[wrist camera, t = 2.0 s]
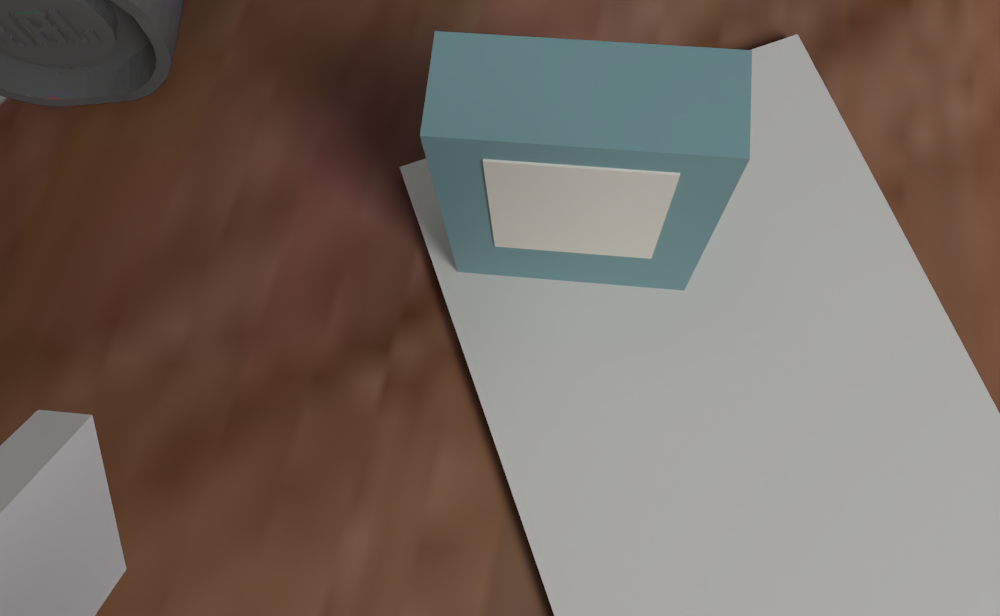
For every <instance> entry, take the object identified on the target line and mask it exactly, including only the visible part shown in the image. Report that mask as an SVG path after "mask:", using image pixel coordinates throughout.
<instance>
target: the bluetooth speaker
mask: <svg viewBox="0 0 1000 616" xmlns="http://www.w3.org/2000/svg"><path fill="white" fill-rule="evenodd" d="M182 7H183V0H0V95H1V96H4V97H7V98H11V99H15V100H19V101H23V102H28V103H32V104H38V105H46V106H75V105H87V104H102V103H113V102H122V101H132V100H137V99H141V98H143V97H145V96H147V95H149V94H151V93H153V92H154V91H155V90H156V89H158V88H159V87H160V86H161V85H162V84H163V82H164V81H165V80H166V78H167V76H168V74H169V71H170V67H171V63H172V58H173V54H174V50H175V46H176V40H177V36H178V31H179V25H180V19H181V13H182Z"/></svg>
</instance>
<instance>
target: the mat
mask: <svg viewBox="0 0 1000 616" xmlns="http://www.w3.org/2000/svg"><path fill="white" fill-rule="evenodd" d="M399 168H400V170H401V173H402V176H403V179H404V182H405V185H406V188H407V191H408V194H409V197H410V199H411V202H412V205H413V208H414V211H415V214H416V217H417V220H418V223H419V226H420V228H421V231H422V234H423V237H424V240H425V243H426V246H427V249H428V252H429V254H430V257H431V260H432V263H433V266H434V269H435V272H436V275H437V278H438V281H439V283H440V286H441V289H442V292H443V295H444V298H445V301H446V304H447V307H448V309H449V312H450V315H451V318H452V321H453V324H454V327H455V330H456V333H457V336H458V338H459V341H460V344H461V347H462V350H463V353H464V356H465V359H466V362H467V364H468V367H469V370H470V373H471V376H472V379H473V382H474V385H475V388H476V391H477V393H478V396H479V399H480V402H481V405H482V408H483V411H484V414H485V417H486V420H487V422H488V425H489V428H490V431H491V434H492V437H493V440H494V443H495V446H496V448H497V451H498V454H499V457H500V460H501V463H502V466H503V469H504V472H505V475H506V477H507V480H508V483H509V486H510V489H511V492H512V495H513V498H514V501H515V503H516V506H517V509H518V512H519V515H520V518H521V521H522V524H523V527H524V530H525V532H526V535H527V538H528V541H529V544H530V547H531V550H532V553H533V556H534V558H535V561H536V564H537V567H538V570H539V573H540V576H541V579H542V582H543V585H544V587H545V590H546V593H547V596H548V599H549V602H550V605H551V608H552V611H553V614H554V616H1000V414H999V412H998V410H997V408H996V406H995V404H994V402H993V400H992V398H991V397H990V395H989V393H988V391H987V389H986V387H985V385H984V383H983V382H982V380H981V378H980V376H979V374H978V372H977V370H976V368H975V367H974V365H973V363H972V361H971V359H970V357H969V355H968V353H967V352H966V350H965V348H964V346H963V344H962V342H961V340H960V338H959V337H958V335H957V333H956V331H955V329H954V327H953V325H952V323H951V321H950V320H949V318H948V316H947V314H946V312H945V310H944V308H943V306H942V305H941V303H940V301H939V299H938V297H937V295H936V293H935V291H934V290H933V288H932V286H931V284H930V282H929V280H928V278H927V276H926V275H925V273H924V271H923V269H922V267H921V265H920V263H919V261H918V260H917V258H916V256H915V254H914V252H913V250H912V248H911V246H910V244H909V243H908V241H907V239H906V237H905V235H904V233H903V231H902V229H901V228H900V226H899V224H898V222H897V220H896V218H895V216H894V214H893V213H892V211H891V209H890V207H889V205H888V203H887V201H886V199H885V198H884V196H883V194H882V192H881V190H880V188H879V186H878V184H877V183H876V181H875V179H874V177H873V175H872V173H871V171H870V169H869V167H868V166H867V164H866V162H865V160H864V158H863V156H862V154H861V152H860V151H859V149H858V147H857V145H856V143H855V141H854V139H853V137H852V136H851V134H850V132H849V130H848V128H847V126H846V124H845V122H844V121H843V119H842V117H841V115H840V113H839V111H838V109H837V107H836V106H835V104H834V102H833V100H832V98H831V96H830V94H829V92H828V90H827V89H826V87H825V85H824V83H823V81H822V79H821V77H820V75H819V74H818V72H817V70H816V68H815V66H814V64H813V62H812V60H811V59H810V57H809V55H808V53H807V51H806V49H805V47H804V45H803V44H802V42H801V40H800V38H799V36H798V34H797V35H794V36H791V37H788V38H785V39H782V40H779V41H776V42H773V43H770V44H767V45H764V46H761V47H758V48H755V49H752V77H751V126H750V160H749V162H748V164H747V166H746V168H745V170H744V172H743V174H742V176H741V178H740V180H739V182H738V184H737V186H736V188H735V190H734V192H733V194H732V196H731V198H730V200H729V202H728V204H727V206H726V208H725V210H724V212H723V214H722V216H721V218H720V220H719V222H718V224H717V226H716V228H715V230H714V232H713V234H712V236H711V238H710V240H709V242H708V244H707V246H706V248H705V250H704V252H703V254H702V256H701V258H700V260H699V262H698V264H697V266H696V268H695V270H694V272H693V274H692V276H691V278H690V280H689V282H688V284H687V286H686V288H685V290H672V289H660V288H648V287H636V286H623V285H611V284H599V283H586V282H574V281H562V280H550V279H537V278H525V277H513V276H500V275H488V274H476V273H464V272H457V268H456V264H455V261H454V257H453V254H452V250H451V246H450V243H449V239H448V236H447V232H446V228H445V225H444V221H443V218H442V214H441V210H440V207H439V203H438V200H437V196H436V192H435V189H434V185H433V181H432V178H431V174H430V171H429V167H428V163H427V160H426V158H425V159H422V160H419V161H416V162H413V163H410V164H407V165H404V166H401V167H399Z"/></svg>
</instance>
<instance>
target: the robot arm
mask: <svg viewBox="0 0 1000 616" xmlns="http://www.w3.org/2000/svg"><path fill="white" fill-rule="evenodd" d="M125 570H126V566H125V561H124V557H123V552H122V548H121V543H120V538H119V534H118V529H117V525H116V520H115V516H114V511H113V507H112V502H111V497H110V493H109V488H108V484H107V479H106V475H105V470H104V466H103V461H102V457H101V452H100V447H99V443H98V438H97V434H96V429H95V425H94V420H93V416H92V415H87V414H77V413H66V412H56V411H46V410H37V411H36V412H35V413H34V414H33V415H32V416H31V417H30V418H29V419H28V420H27V421H26V422H25V423H24V424H23V425H22V426H21V427H20V428H18V429H17V430H16V431H15V432H14V433H13V434H12V435H11V436H10V437H9V438H8V439H7V440H6V441H5V442H4V443H3V444H2V445H1V446H0V616H95V614H96V613H97V611H98V610H99V609H100V607H101V606H102V604H103V603H104V601H105V600H106V598H107V597H108V595H109V594H110V592H111V591H112V590H113V588H114V587H115V585H116V584H117V582H118V581H119V579H120V578H121V576H122V575H123V573H124V572H125Z"/></svg>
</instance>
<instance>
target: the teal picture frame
mask: <svg viewBox="0 0 1000 616" xmlns="http://www.w3.org/2000/svg"><path fill="white" fill-rule="evenodd" d="M751 77H752V50H738V49H721V48H705V47H688V46H672V45H655V44H639V43H623V42H606V41H590V40H573V39H557V38H540V37H524V36H507V35H491V34H474V33H458V32H442V31H435V34H434V41H433V48H432V55H431V62H430V69H429V76H428V83H427V90H426V96H425V103H424V110H423V117H422V124H421V131H420V138H421V142H422V145H423V149H424V153H425V156H426V160H427V163H428V167H429V171H430V174H431V178H432V181H433V185H434V189H435V192H436V196H437V200H438V203H439V207H440V210H441V214H442V218H443V221H444V225H445V228H446V232H447V236H448V239H449V243H450V246H451V250H452V254H453V257H454V261H455V264H456V268H457V272H464V273H476V274H488V275H500V276H513V277H525V278H537V279H550V280H562V281H574V282H586V283H599V284H611V285H623V286H636V287H648V288H660V289H672V290H685V288H686V286H687V284H688V282H689V280H690V278H691V276H692V274H693V272H694V270H695V268H696V266H697V264H698V262H699V260H700V258H701V256H702V254H703V252H704V250H705V248H706V246H707V244H708V242H709V240H710V238H711V236H712V234H713V232H714V230H715V228H716V226H717V224H718V222H719V220H720V218H721V216H722V214H723V212H724V210H725V208H726V206H727V204H728V202H729V200H730V198H731V196H732V194H733V192H734V190H735V188H736V186H737V184H738V182H739V180H740V178H741V176H742V174H743V172H744V170H745V168H746V166H747V164H748V162H749V160H750V126H751Z"/></svg>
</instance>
